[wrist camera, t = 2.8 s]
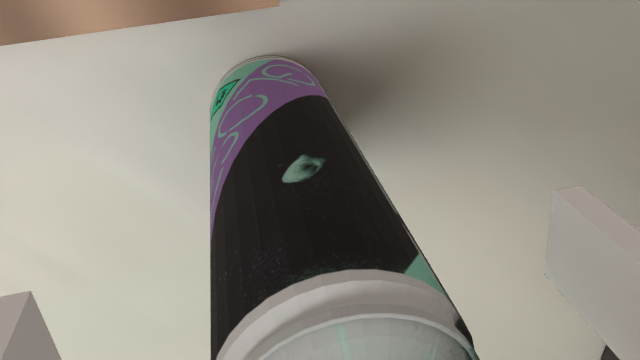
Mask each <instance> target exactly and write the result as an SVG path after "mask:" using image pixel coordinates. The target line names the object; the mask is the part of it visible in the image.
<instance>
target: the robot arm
mask: <svg viewBox="0 0 640 360" xmlns="http://www.w3.org/2000/svg"><path fill="white" fill-rule="evenodd" d="M544 275H545V276H546V277H547V278H548V279H549V280H550V282H551V283H552V284H553V285H554V286H555V287H556V288H557V289H558V291H559V292H560V293H561V294H562V295H563V296H564V297H565V298H566V300H567V301H568V302H569V303H570V304H571V305H572V306H573V307H574V309H575V310H576V311H577V312H578V313H579V314H580V315H581V316H582V318H583V319H584V320H585V321H586V322H587V323H588V324H589V325H590V327H591V328H592V329H593V330H594V331H595V332H596V333H597V334H598V336H599V337H600V338H601V339H602V340H603V341H604V342H605V343H606V345H607V348H606V350H605V352H604V355H603V358H602V360H640V231H639V230H638V229H636V228H635V227H634V226H632V225H631V224H630V223H629V222H627V221H626V220H625V219H623V218H622V217H621V216H620V215H618V214H617V213H616V212H614V211H613V210H612V209H611V208H609V207H608V206H607V205H605V204H604V203H603V202H602V201H600V200H599V199H598V198H596V197H595V196H594V195H593V194H591V193H590V192H589V191H588V190H586V189H585V188H584V187H582V186H581V185H579V186H574V187H569V188H564V189H559V190H554V191H553V200H552V209H551V218H550V228H549V237H548V246H547V256H546V265H545V274H544ZM0 360H61V357H60V355H59V353H58V351H57V348H56V346H55V344H54V342H53V339H52V337H51V335H50V333H49V331H48V328H47V326H46V324H45V322H44V319H43V317H42V315H41V313H40V310H39V308H38V306H37V304H36V301H35V299H34V297H33V295H32V292H31V291H28V292H23V293H17V294H12V295H7V296H2V297H0Z"/></svg>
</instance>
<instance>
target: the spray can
mask: <svg viewBox="0 0 640 360" xmlns="http://www.w3.org/2000/svg"><path fill="white" fill-rule="evenodd" d="M210 268H211V360H480V359H479V358H478V356H477V354H476V352H475V350H474V345H473V340H472V336H471V334H470V332H469V331H468V329H467V327H466V325H465V323H464V321H463V319H462V317H461V316H460V314H459V312H458V311H457V309H456V307H455V306H454V304H453V303H452V301H451V299H450V298H449V296H448V294H447V293H446V291H445V289H444V288H443V286H442V284H441V283H440V281H439V279H438V278H437V276H436V274H435V273H434V271H433V269H432V268H431V266H430V264H429V263H428V261H427V259H426V258H425V256H424V255H423V253H422V251H421V250H420V248H419V246H418V245H417V243H416V241H415V240H414V238H413V236H412V235H411V233H410V231H409V230H408V228H407V226H406V225H405V223H404V221H403V220H402V218H401V216H400V215H399V213H398V211H397V210H396V208H395V206H394V205H393V203H392V202H391V200H390V198H389V197H388V195H387V193H386V192H385V190H384V188H383V187H382V185H381V183H380V182H379V180H378V178H377V177H376V175H375V173H374V172H373V170H372V168H371V167H370V165H369V163H368V162H367V160H366V158H365V157H364V155H363V153H362V152H361V150H360V149H359V147H358V145H357V144H356V142H355V140H354V139H353V137H352V135H351V134H350V132H349V130H348V129H347V127H346V125H345V124H344V122H343V120H342V119H341V117H340V115H339V114H338V112H337V110H336V109H335V107H334V105H333V104H332V102H331V100H330V99H329V97H328V96H327V94H326V92H325V91H324V89H323V87H322V86H321V84H320V82H319V81H318V80H317V79H316V78H315V76H314V75H313V74H312V73H311V72H310V71H309V70H308V69H306V68H305V67H304V66H302V65H301V64H299V63H297V62H295V61H293V60H291V59H287V58H284V57H280V56H261V57H255V58H252V59H249V60H246V61H244V62H242V63H240V64H239V65H237V66H235V67H234V68H233V69H231V70H230V71H229V72H228V73H227V74H226V75H225V76H224V77H223V79H222V80H221V81H220V83H219V84H218V86H217V88H216V90H215V92H214V94H213V98H212V103H211V107H210Z"/></svg>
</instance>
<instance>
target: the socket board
mask: <svg viewBox="0 0 640 360" xmlns="http://www.w3.org/2000/svg"><path fill="white" fill-rule="evenodd" d="M276 6H279V0H0V46H2V45H9V44H16V43H24V42H31V41H38V40H45V39H52V38H59V37H66V36H73V35H80V34H87V33H94V32H101V31H108V30H115V29H122V28H129V27H136V26H143V25H150V24H157V23H164V22H171V21H178V20H185V19H192V18H199V17H206V16H213V15H220V14H227V13H234V12H241V11H248V10H255V9H262V8H269V7H276Z"/></svg>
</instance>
